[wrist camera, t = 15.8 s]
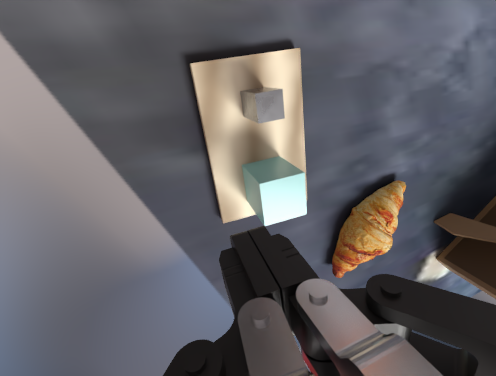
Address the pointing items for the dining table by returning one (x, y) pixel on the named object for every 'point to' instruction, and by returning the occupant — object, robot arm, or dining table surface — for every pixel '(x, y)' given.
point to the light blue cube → (275, 189)
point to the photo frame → (472, 247)
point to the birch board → (247, 120)
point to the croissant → (368, 228)
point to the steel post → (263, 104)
